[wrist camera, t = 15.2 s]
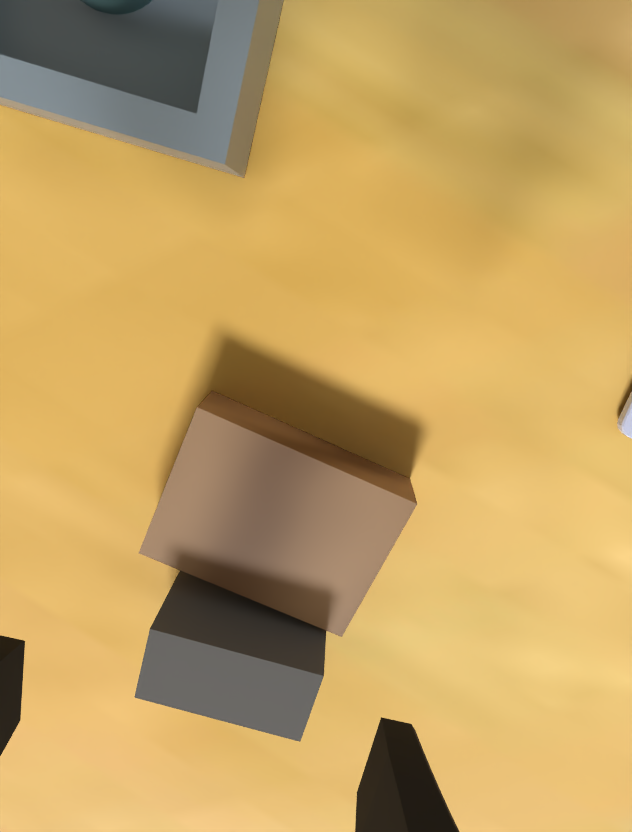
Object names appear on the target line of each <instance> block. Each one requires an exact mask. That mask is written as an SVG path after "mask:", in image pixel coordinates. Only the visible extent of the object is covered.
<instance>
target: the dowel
mask: <svg viewBox="0 0 632 832" xmlns="http://www.w3.org/2000/svg"><path fill="white" fill-rule="evenodd" d="M80 1H82V2H83V3H85V4H86V5H87V6H89V7H91V8H93V9H95V10H98V11H100V12H103V13H108V14H118V15H120V14H128V13H131V12H135V11H137V10H139V9H141V8H143V7H145V6H146V5H148V4H149V3H150V2H151V1H152V0H80Z"/></svg>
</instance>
